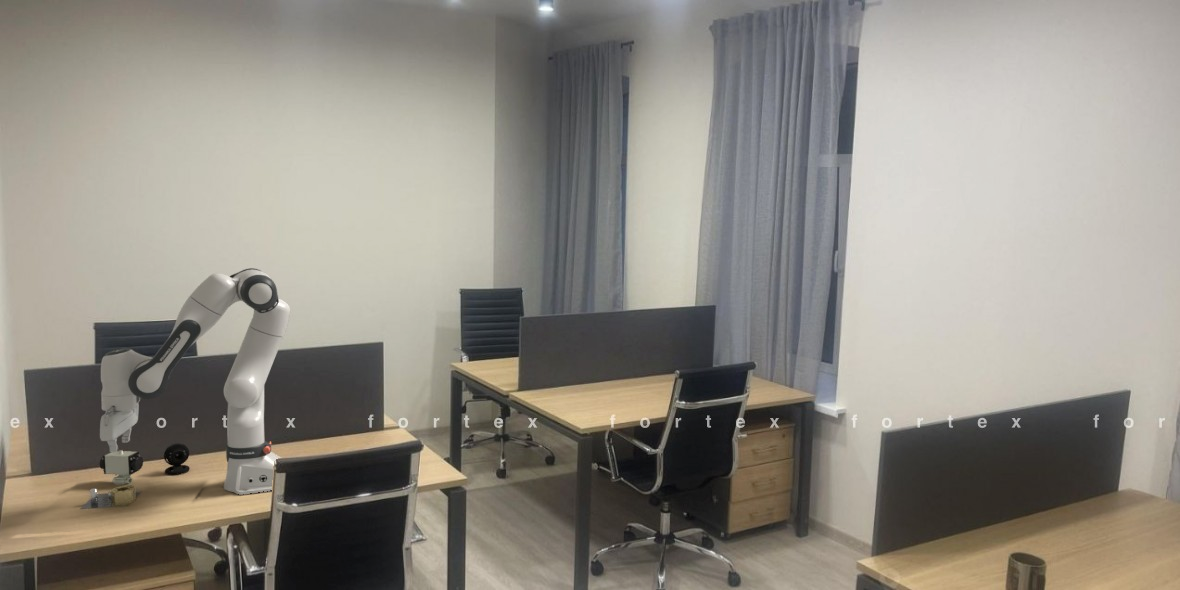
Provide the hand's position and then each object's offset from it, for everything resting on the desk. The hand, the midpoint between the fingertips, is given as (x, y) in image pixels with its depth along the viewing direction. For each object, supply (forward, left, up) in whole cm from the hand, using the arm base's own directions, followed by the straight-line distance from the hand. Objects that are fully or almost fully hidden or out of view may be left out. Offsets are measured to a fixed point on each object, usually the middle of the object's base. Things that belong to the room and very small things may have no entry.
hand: (120, 446), depth 229 cm
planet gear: (0, 0, -17) cm, 17 cm away
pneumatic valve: (+6, -17, -19) cm, 26 cm away
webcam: (-7, -28, -19) cm, 35 cm away
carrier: (+4, -2, -18) cm, 19 cm away
